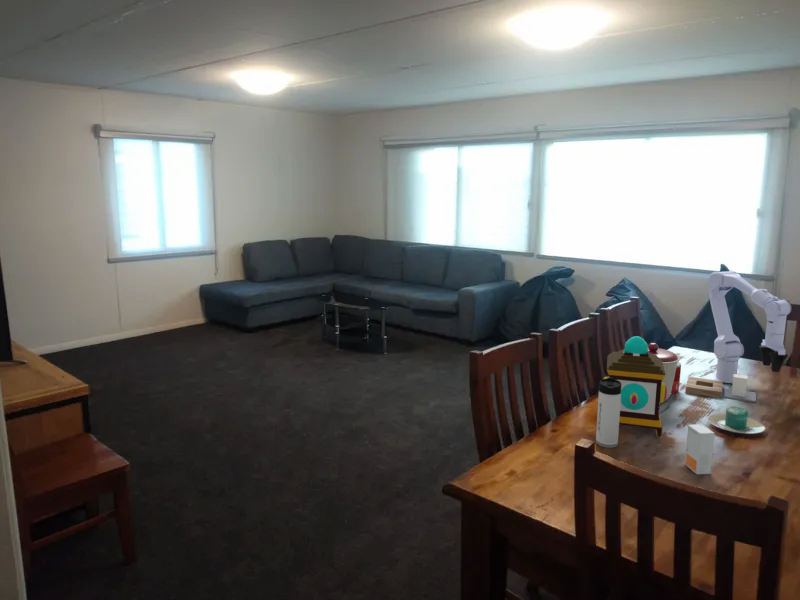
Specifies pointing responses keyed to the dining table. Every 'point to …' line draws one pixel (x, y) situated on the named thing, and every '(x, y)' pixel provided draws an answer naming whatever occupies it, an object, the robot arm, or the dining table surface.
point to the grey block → (739, 385)
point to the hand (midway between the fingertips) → (770, 368)
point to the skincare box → (699, 449)
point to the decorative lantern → (638, 384)
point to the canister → (666, 365)
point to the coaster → (749, 396)
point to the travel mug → (608, 413)
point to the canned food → (676, 379)
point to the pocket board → (704, 387)
